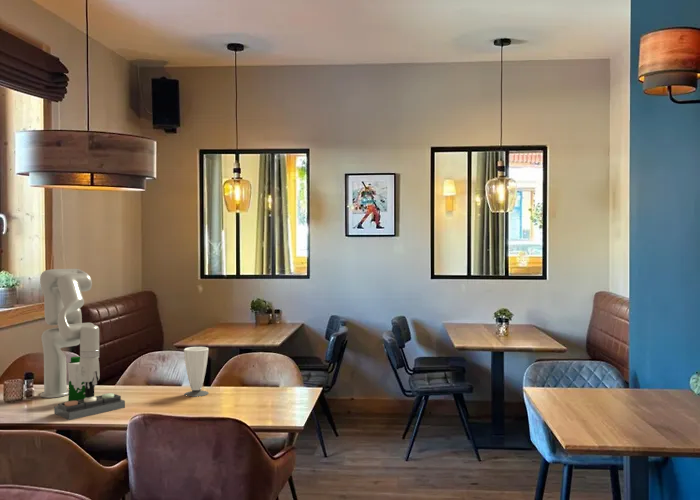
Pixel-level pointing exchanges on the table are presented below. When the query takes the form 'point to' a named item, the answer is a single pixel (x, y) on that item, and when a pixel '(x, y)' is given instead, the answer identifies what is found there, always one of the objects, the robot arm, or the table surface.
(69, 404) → the button terracotta
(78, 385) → the milk carton
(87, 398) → the button cream
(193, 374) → the cup
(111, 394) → the button sage
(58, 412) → the panel
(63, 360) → the robot arm
